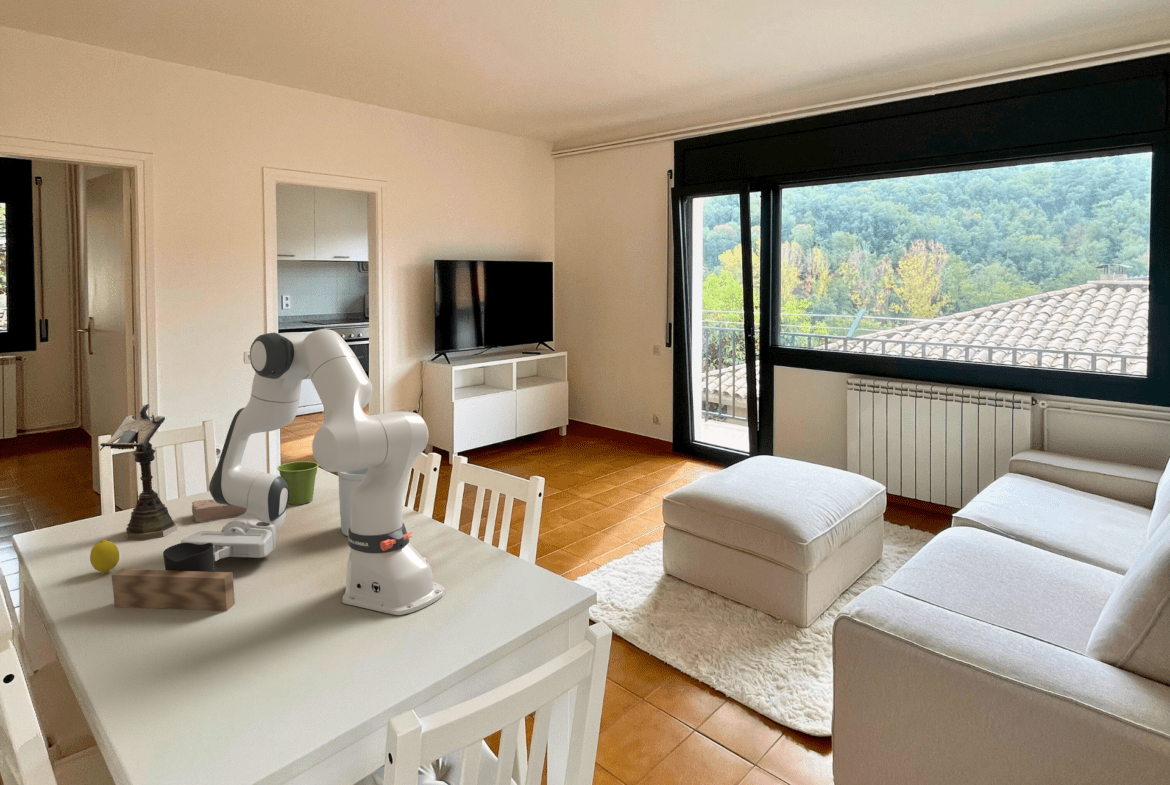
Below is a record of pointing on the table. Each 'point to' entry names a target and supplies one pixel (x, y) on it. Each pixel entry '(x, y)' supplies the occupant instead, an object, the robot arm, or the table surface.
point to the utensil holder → (348, 494)
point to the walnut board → (173, 589)
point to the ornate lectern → (143, 477)
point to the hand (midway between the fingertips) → (208, 557)
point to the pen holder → (189, 557)
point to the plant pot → (299, 480)
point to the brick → (214, 510)
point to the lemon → (104, 556)
